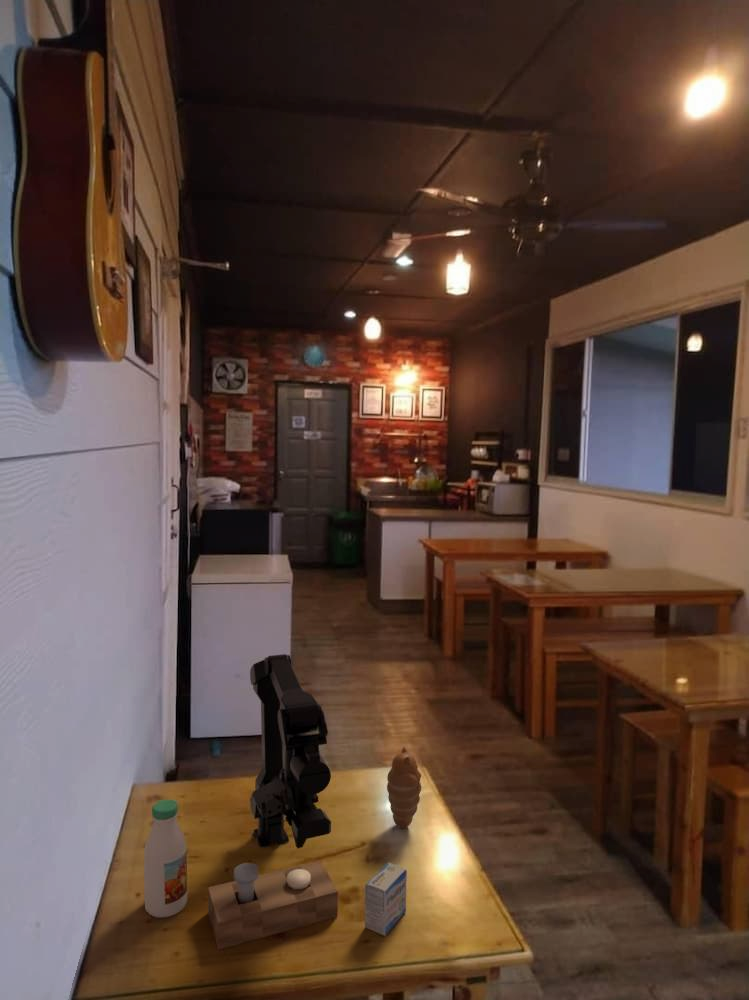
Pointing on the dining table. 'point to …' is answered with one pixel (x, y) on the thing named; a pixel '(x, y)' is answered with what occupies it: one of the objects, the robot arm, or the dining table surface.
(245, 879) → the grey peg
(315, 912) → the walnut block
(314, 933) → the dining table surface
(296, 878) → the cream peg
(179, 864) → the milk bottle
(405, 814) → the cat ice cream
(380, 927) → the medicine box
